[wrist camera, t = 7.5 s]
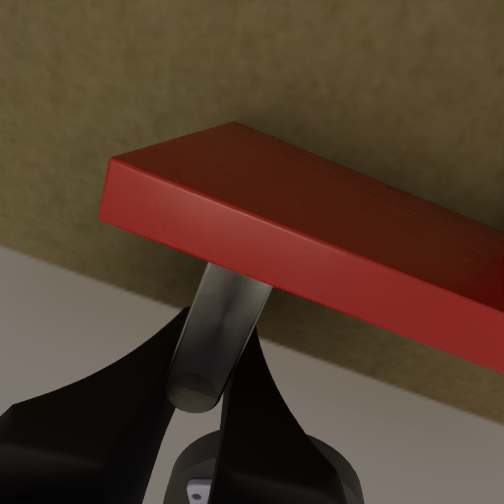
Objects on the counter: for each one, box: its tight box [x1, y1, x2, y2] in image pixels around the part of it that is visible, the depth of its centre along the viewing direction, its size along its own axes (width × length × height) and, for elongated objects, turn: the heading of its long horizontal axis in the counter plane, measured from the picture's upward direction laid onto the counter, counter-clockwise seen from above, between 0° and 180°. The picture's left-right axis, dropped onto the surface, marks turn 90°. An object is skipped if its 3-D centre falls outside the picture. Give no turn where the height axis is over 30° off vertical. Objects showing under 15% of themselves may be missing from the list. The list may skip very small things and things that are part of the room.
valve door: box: [98, 121, 504, 413], centre depth 10 cm, size 6×13×10 cm, turn 69°
